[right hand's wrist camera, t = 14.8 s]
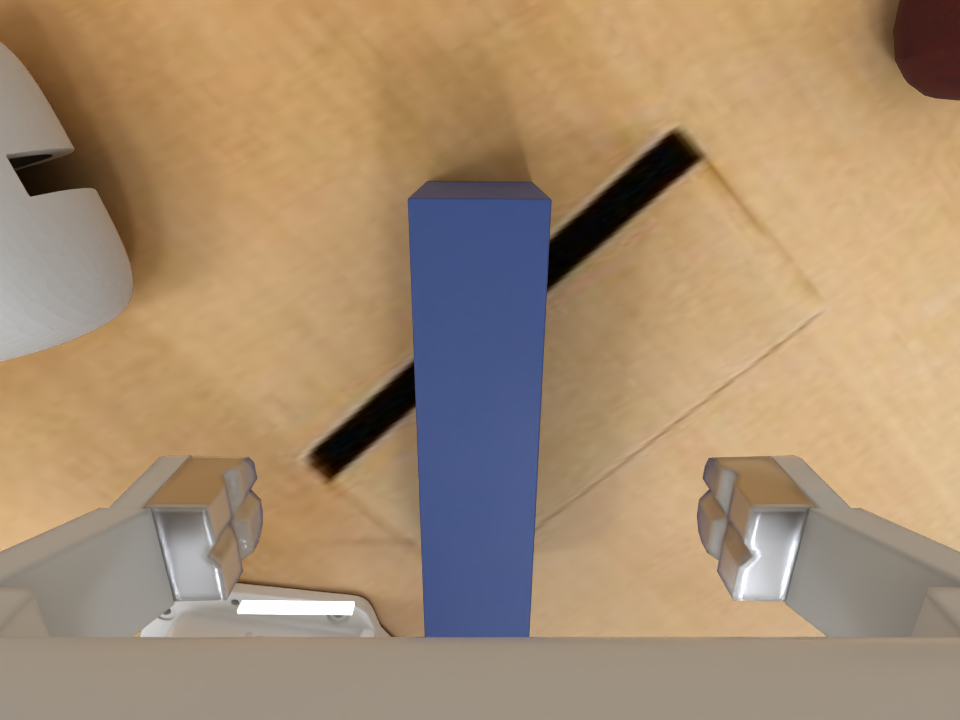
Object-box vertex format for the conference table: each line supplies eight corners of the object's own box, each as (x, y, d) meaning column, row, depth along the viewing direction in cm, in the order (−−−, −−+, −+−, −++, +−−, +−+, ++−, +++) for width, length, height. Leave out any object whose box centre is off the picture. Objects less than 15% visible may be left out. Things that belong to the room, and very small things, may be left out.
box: (426, 181, 33) (407, 197, 25) (532, 182, 33) (551, 199, 25) (436, 556, 43) (425, 663, 35) (518, 557, 43) (527, 663, 35)
